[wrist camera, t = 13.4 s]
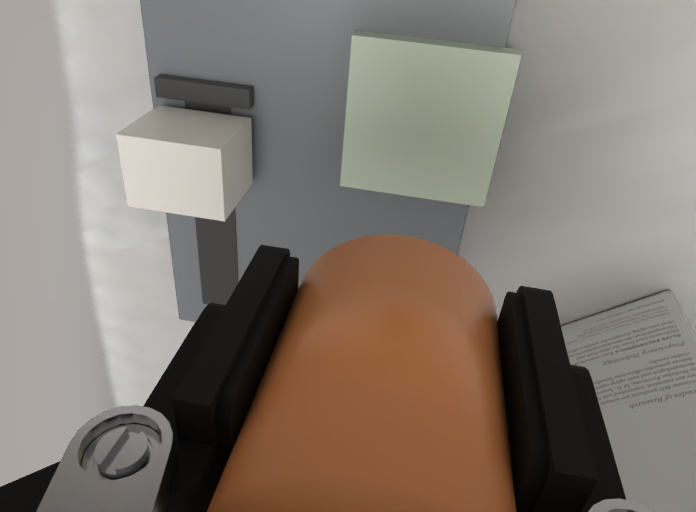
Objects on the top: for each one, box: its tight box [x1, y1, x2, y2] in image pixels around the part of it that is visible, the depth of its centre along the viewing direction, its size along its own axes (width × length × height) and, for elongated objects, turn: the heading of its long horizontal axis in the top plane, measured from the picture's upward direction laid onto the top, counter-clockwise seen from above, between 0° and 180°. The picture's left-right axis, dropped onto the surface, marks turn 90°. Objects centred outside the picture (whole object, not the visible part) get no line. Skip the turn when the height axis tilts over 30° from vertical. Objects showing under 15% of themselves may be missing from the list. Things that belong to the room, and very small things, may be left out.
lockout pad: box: [340, 30, 522, 207], centre depth 21 cm, size 6×6×1 cm
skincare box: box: [561, 290, 696, 512], centre depth 22 cm, size 8×7×16 cm
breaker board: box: [140, 0, 516, 322], centre depth 24 cm, size 18×14×2 cm
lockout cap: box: [207, 234, 516, 512], centre depth 9 cm, size 4×4×5 cm
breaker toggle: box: [116, 105, 253, 222], centre depth 22 cm, size 3×4×4 cm
